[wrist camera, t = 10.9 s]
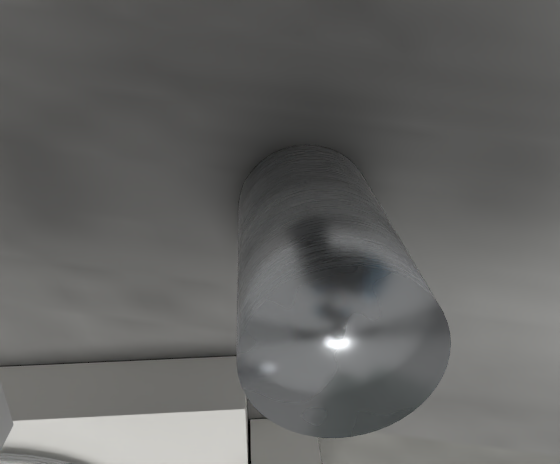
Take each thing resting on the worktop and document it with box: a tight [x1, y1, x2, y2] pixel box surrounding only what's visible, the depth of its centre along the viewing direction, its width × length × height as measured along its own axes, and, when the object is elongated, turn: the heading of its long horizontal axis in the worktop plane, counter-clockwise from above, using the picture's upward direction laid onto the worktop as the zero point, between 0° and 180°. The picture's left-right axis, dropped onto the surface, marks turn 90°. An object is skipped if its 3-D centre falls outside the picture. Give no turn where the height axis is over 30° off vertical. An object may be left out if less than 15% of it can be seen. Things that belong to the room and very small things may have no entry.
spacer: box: [237, 145, 451, 438], centre depth 13 cm, size 4×4×7 cm
